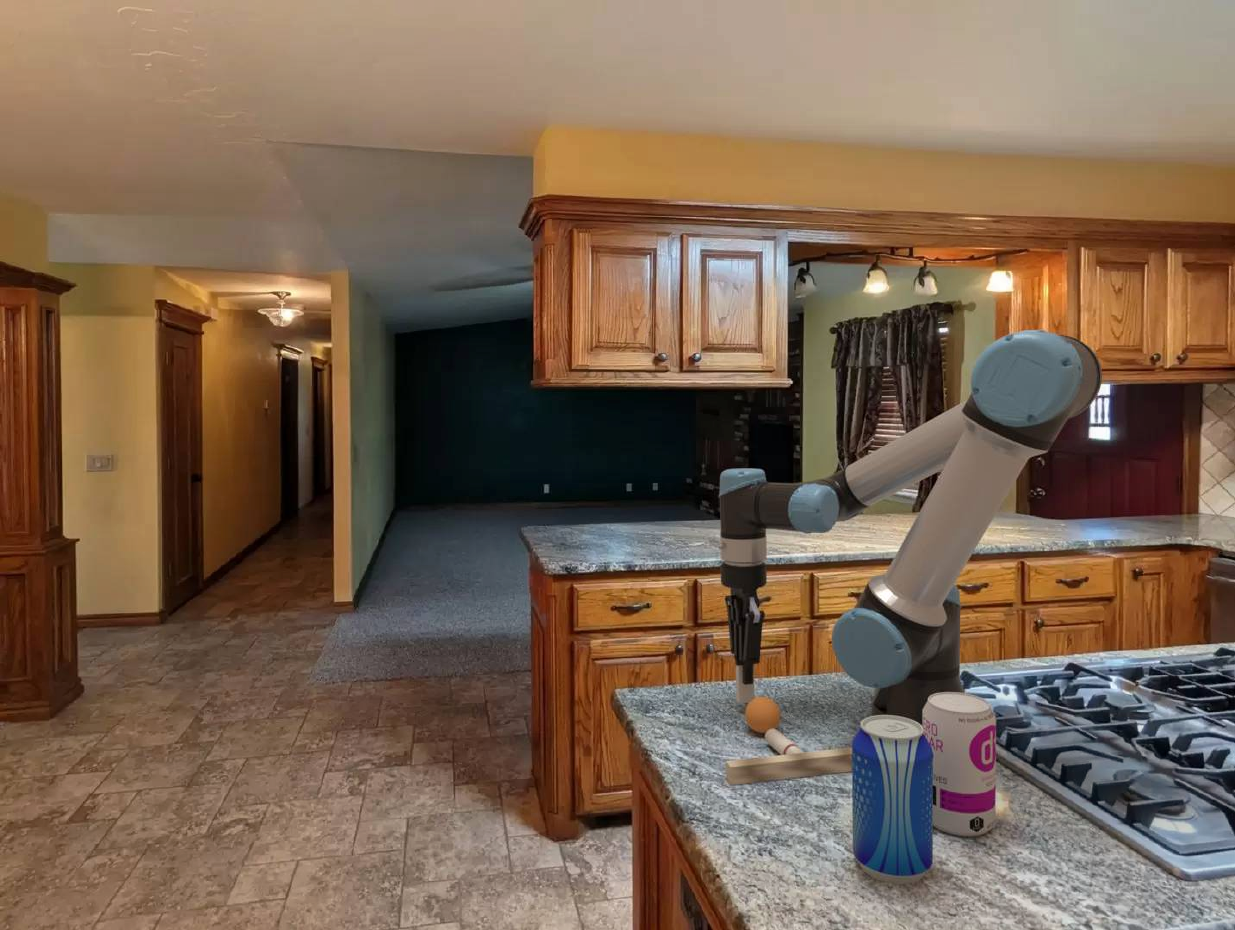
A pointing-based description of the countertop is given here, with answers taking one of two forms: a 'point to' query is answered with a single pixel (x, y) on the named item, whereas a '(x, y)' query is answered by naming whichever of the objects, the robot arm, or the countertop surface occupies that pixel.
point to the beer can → (892, 799)
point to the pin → (781, 743)
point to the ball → (762, 714)
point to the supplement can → (962, 762)
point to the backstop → (789, 766)
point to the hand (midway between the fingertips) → (745, 700)
